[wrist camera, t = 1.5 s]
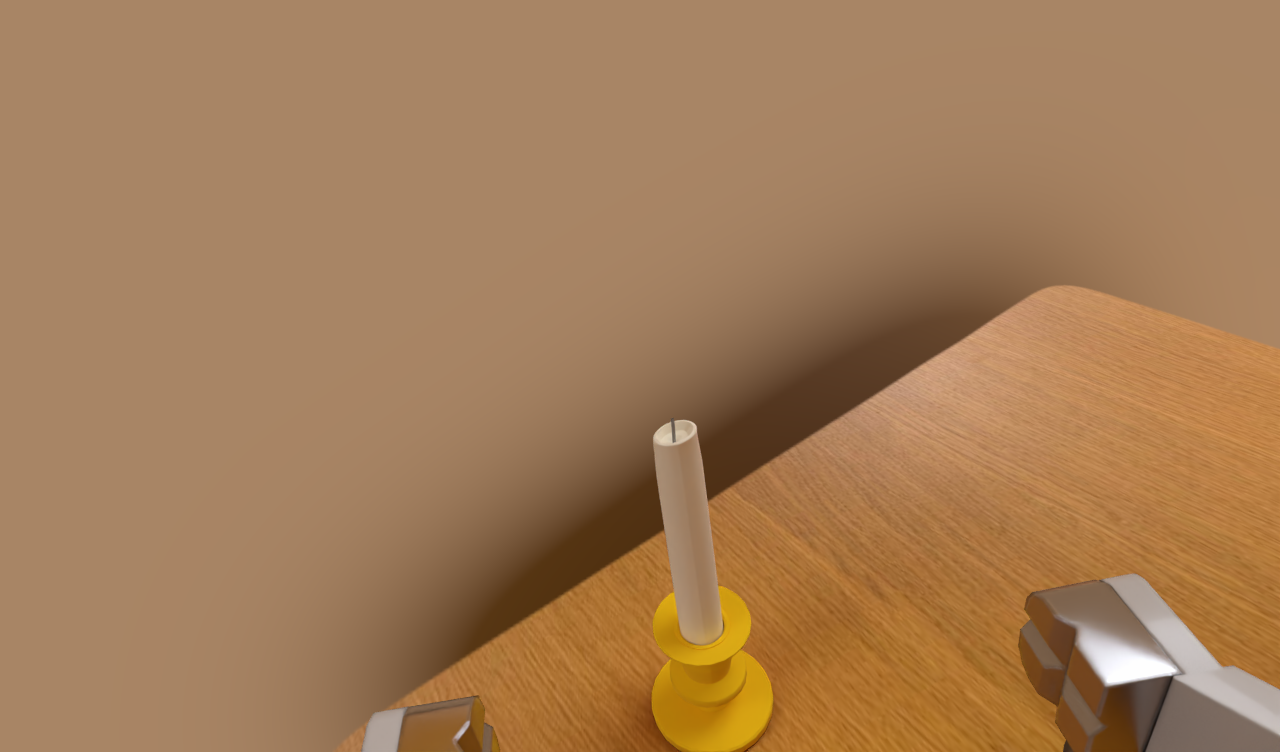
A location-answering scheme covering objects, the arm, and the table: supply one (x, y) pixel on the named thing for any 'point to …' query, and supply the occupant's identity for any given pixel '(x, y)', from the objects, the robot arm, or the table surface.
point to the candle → (701, 619)
